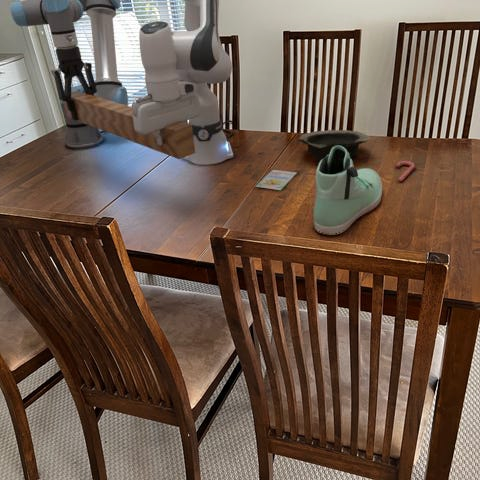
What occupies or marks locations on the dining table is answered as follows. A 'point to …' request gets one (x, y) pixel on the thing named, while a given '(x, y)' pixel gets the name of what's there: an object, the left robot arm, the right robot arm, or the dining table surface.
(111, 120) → the beam
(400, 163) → the candy cane
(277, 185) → the baking ingredient package
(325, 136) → the stone bowl
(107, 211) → the dining table surface
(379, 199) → the sneaker
